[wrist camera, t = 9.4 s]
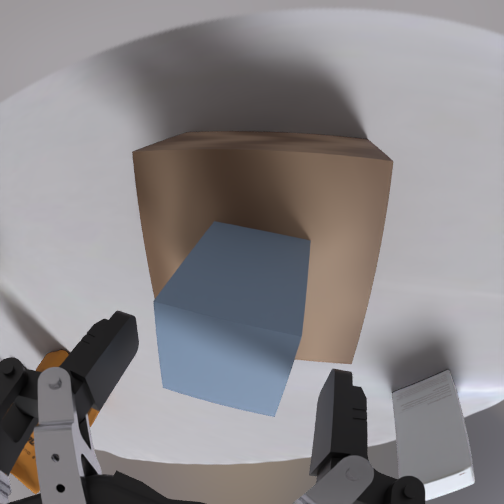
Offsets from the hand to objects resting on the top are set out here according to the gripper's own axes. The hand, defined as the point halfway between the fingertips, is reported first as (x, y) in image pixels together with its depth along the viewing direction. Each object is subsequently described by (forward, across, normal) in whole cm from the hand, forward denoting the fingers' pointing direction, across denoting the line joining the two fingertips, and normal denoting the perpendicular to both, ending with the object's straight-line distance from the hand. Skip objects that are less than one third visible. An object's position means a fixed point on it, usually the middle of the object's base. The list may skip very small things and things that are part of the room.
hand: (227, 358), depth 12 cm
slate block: (+6, 0, 0) cm, 6 cm away
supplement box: (+14, -22, +17) cm, 31 cm away
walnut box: (+14, 0, 0) cm, 14 cm away
